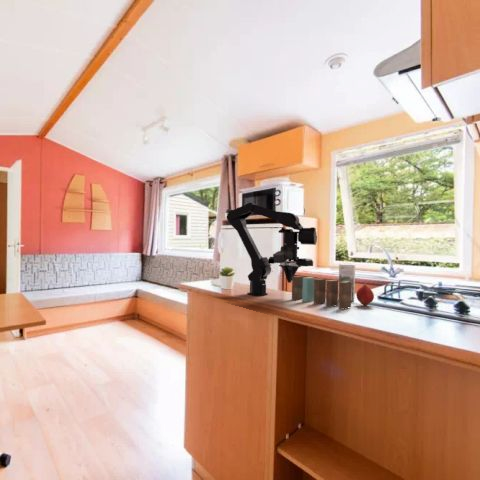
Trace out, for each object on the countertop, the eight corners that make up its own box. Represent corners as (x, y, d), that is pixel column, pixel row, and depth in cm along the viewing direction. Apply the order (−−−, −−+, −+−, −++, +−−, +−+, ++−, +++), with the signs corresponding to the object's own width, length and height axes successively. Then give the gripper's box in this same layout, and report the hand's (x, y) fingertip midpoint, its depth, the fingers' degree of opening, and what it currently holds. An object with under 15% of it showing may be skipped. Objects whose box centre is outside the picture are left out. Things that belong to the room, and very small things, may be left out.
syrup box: (354, 299, 121) (355, 263, 121) (353, 301, 116) (354, 264, 116) (339, 298, 123) (340, 262, 124) (338, 300, 118) (338, 263, 118)
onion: (353, 304, 111) (353, 282, 111) (368, 304, 111) (368, 282, 111) (361, 307, 105) (361, 284, 105) (376, 307, 105) (377, 284, 106)
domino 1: (291, 299, 118) (292, 276, 118) (298, 298, 121) (299, 275, 121) (295, 300, 116) (296, 277, 116) (303, 298, 119) (303, 276, 120)
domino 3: (313, 303, 110) (314, 279, 110) (320, 302, 114) (321, 278, 114) (318, 304, 109) (319, 279, 109) (325, 302, 112) (325, 278, 112)
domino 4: (325, 305, 107) (326, 280, 107) (332, 304, 110) (333, 279, 110) (331, 306, 105) (331, 281, 105) (337, 305, 109) (338, 280, 109)
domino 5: (338, 308, 103) (339, 282, 103) (345, 306, 106) (346, 281, 107) (344, 309, 102) (344, 282, 102) (351, 307, 105) (351, 281, 105)
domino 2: (302, 301, 114) (302, 277, 114) (309, 300, 117) (309, 277, 117) (306, 302, 113) (307, 278, 113) (313, 300, 116) (314, 277, 116)
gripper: (259, 243, 123) (259, 281, 123) (297, 244, 109) (296, 287, 109) (277, 243, 131) (276, 279, 130) (314, 244, 117) (313, 284, 117)
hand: (289, 282), depth 122 cm, fingers closed
